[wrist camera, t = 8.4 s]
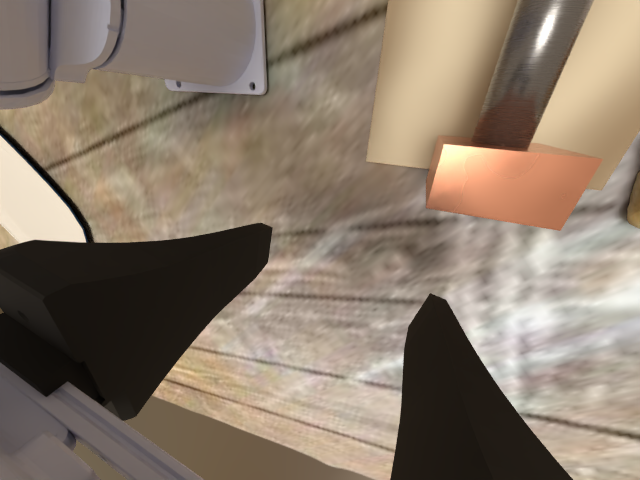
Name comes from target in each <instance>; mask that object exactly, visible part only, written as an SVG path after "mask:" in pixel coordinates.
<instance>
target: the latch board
mask: <svg viewBox="0 0 640 480" xmlns="http://www.w3.org/2000/svg"><path fill="white" fill-rule="evenodd" d="M517 1H518V0H388V8H387V15H386V22H385V29H384V36H383V43H382V50H381V57H380V64H379V72H378V79H377V86H376V93H375V100H374V107H373V114H372V121H371V129H370V136H369V143H368V150H367V157H366V161H367V162H375V163H383V164H391V165H399V166H407V167H415V168H423V169H429V168H430V164H431V161H432V157H433V153H434V149H435V146H436V142H437V138H438V135H443V136H455V137H467V138H472V137H473V134H474V131H475V128H476V125H477V122H478V119H479V116H480V113H481V110H482V107H483V104H484V101H485V98H486V95H487V92H488V89H489V86H490V83H491V80H492V77H493V74H494V71H495V68H496V65H497V62H498V59H499V56H500V53H501V50H502V47H503V44H504V41H505V38H506V34H507V31H508V28H509V25H510V22H511V19H512V16H513V13H514V10H515V7H516V4H517ZM639 131H640V0H594V2H593V4H592V6H591V9H590V11H589V13H588V15H587V18H586V20H585V22H584V24H583V26H582V29H581V31H580V33H579V35H578V38H577V40H576V42H575V44H574V47H573V49H572V51H571V53H570V56H569V58H568V60H567V62H566V65H565V67H564V69H563V71H562V74H561V76H560V78H559V80H558V83H557V85H556V87H555V89H554V92H553V94H552V96H551V98H550V101H549V103H548V105H547V107H546V110H545V112H544V114H543V116H542V119H541V121H540V123H539V125H538V128H537V130H536V132H535V134H534V137H533V139H532V141H531V143H540V144H544V145H548V146H552V147H556V148H560V149H565V150H569V151H573V152H577V153H581V154H585V155H589V156H593V157H597V158H601V159H603V161H602V162H601V164H600V166H599V167H598V169H597V171H596V172H595V174H594V176H593V177H592V179H591V181H590V182H589V184H588V186H587V187H586V189H594V190H602V189H603V187H604V186H605V184H606V183H607V181H608V179H609V178H610V176H611V175H612V173H613V172H614V170H615V168H616V167H617V165H618V164H619V162H620V161H621V159H622V157H623V156H624V154H625V153H626V151H627V149H628V148H629V146H630V145H631V143H632V142H633V140H634V138H635V137H636V135H637V134H638V132H639Z"/></svg>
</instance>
